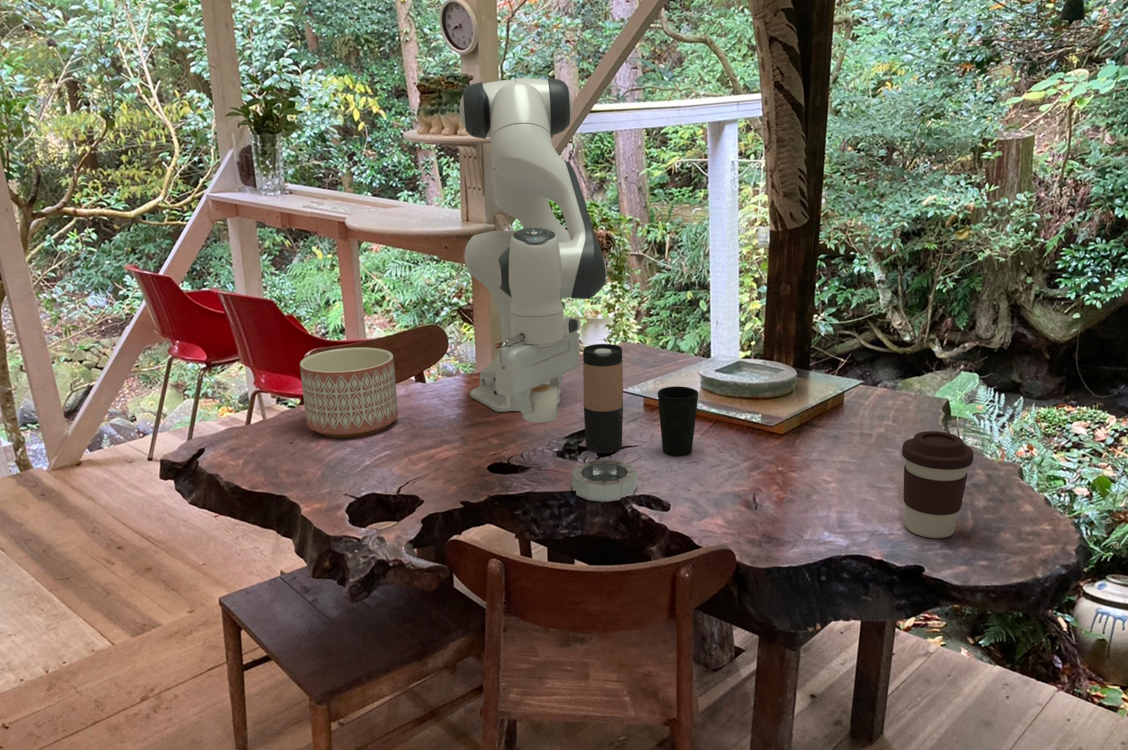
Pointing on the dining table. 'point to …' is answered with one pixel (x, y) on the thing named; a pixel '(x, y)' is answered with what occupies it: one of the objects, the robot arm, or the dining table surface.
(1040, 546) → the dining table surface
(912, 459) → the coffee cup
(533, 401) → the jar
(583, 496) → the stone fire pit ring
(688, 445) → the cup
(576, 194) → the robot arm
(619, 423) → the travel mug
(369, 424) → the planter
